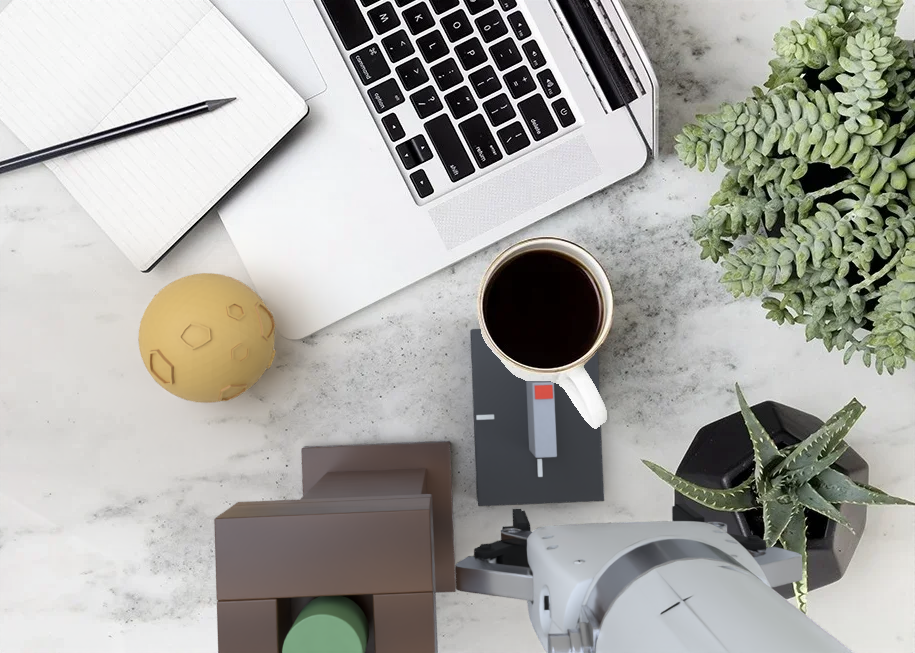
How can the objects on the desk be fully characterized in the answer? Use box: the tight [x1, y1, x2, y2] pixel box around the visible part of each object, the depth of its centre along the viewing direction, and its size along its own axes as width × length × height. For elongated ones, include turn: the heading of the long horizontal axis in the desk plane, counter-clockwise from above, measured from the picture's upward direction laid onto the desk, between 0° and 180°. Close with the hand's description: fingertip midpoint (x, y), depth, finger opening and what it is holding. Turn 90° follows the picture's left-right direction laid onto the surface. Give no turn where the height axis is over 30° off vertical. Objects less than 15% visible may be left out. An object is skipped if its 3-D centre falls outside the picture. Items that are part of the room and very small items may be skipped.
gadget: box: [469, 328, 605, 507], centre depth 63 cm, size 14×10×3 cm
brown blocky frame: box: [213, 494, 439, 653], centre depth 38 cm, size 12×10×4 cm
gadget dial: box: [526, 381, 557, 458], centre depth 59 cm, size 6×2×5 cm, turn 2°
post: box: [300, 440, 457, 594], centre depth 52 cm, size 12×12×24 cm
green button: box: [282, 596, 369, 653], centre depth 36 cm, size 4×4×3 cm
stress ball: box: [138, 272, 277, 404], centre depth 59 cm, size 10×10×10 cm
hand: (598, 531), depth 47 cm, fingers open, 9 cm apart
